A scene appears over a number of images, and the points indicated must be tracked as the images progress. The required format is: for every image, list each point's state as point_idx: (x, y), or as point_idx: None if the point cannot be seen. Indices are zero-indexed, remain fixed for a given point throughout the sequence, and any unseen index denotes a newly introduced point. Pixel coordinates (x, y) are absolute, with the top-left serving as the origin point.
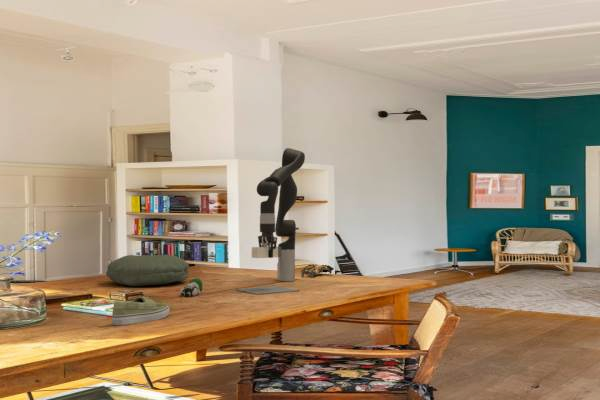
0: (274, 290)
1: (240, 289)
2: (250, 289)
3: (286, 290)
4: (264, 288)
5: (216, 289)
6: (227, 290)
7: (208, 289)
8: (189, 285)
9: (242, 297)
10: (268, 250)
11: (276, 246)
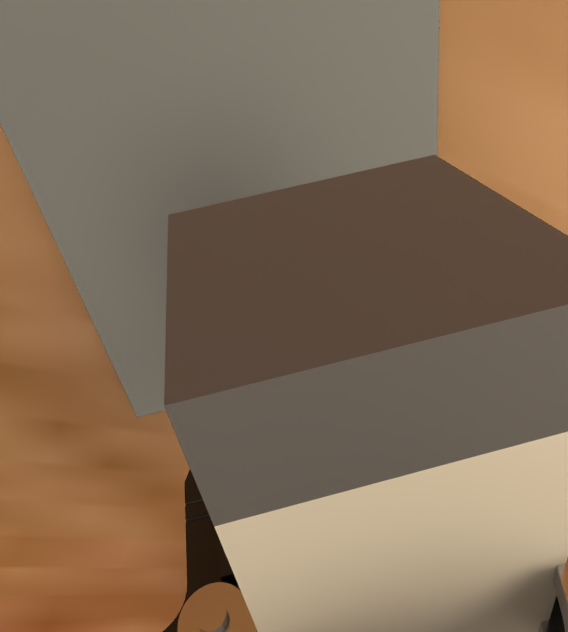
0: (337, 166)
1: (163, 392)
2: None
3: (396, 48)
4: (158, 203)
5: (50, 500)
6: (128, 453)
7: (39, 534)
8: None
9: None
10: None
11: (269, 394)
